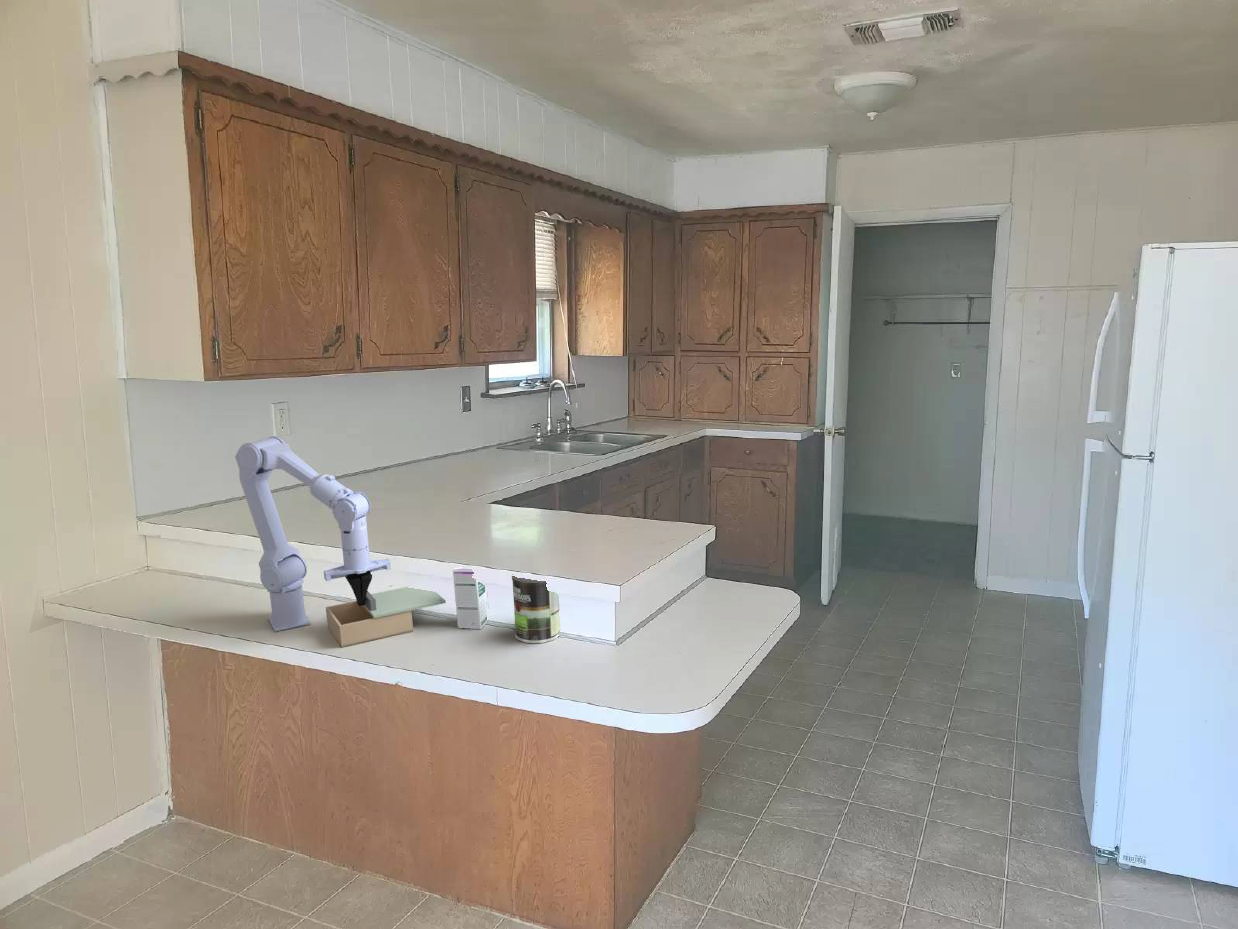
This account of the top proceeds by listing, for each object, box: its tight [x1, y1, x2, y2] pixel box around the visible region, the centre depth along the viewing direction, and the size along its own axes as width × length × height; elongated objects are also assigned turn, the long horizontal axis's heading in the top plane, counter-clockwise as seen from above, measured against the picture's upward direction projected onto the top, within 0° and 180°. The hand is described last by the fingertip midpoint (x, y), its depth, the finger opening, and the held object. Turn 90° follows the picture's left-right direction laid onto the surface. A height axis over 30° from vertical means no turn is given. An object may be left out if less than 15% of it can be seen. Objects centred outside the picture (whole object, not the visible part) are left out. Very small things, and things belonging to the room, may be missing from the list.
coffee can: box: [511, 575, 561, 644], centre depth 194 cm, size 10×10×14 cm
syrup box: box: [452, 566, 488, 630], centre depth 201 cm, size 6×6×14 cm
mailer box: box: [325, 600, 414, 648], centre depth 201 cm, size 14×16×5 cm
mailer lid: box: [363, 586, 447, 618], centre depth 204 cm, size 15×17×3 cm
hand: (361, 604), depth 200 cm, fingers closed
